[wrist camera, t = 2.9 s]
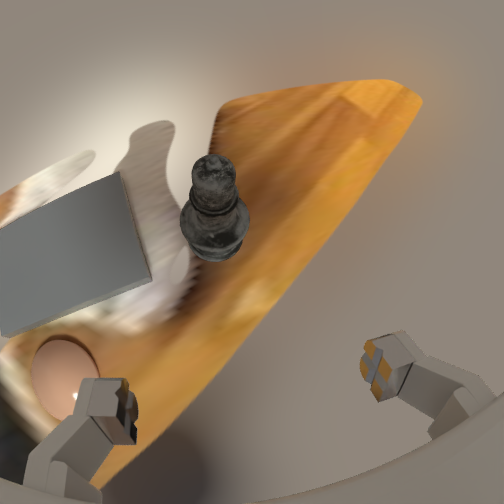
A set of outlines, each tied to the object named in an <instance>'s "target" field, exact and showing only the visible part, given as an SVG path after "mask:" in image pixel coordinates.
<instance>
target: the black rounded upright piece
mask: <svg viewBox="0 0 504 504" xmlns="http://www.w3.org/2000/svg"><path fill="white" fill-rule="evenodd" d="M235 178H236V173H235V168H234V166H233V164H232V162H231V161H230V160H229V159H227V158H226V157H224V156H221V155H217V154H210V155H206V156H204V157H202V158H200V159H199V160H197V161H196V163H195V164H194V166H193V169H192V183H193V186H192V187H191V189H190V193H189V200H188V201H187V202H186V204H185V206H184V207H183V209H182V212H181V215H180V227H181V230H182V233H183V235H184V236H185V238H186V239H187V241H188V243H189V246H190V248H191V249H192V251H193V252H194V253H195V254H196V255H197V256H198V257H199V258H202V259H204V260H206V261H211V262H219V261H224V260H227V259H229V258H230V257H232V256H233V255H235V253H236V252H237V251H238V250H239V248H240V246H241V244H242V240H243V238H244V237H245V235H246V233H247V231H248V228H249V222H250V218H249V212H248V209H247V207H246V205H245V204H244V202H243V201H242V200H241V199H240V198H239V192H238V189H237V187H236V185H235Z"/></svg>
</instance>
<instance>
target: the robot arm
mask: <svg viewBox="0 0 504 504" xmlns="http://www.w3.org/2000/svg"><path fill="white" fill-rule="evenodd" d="M364 350H365V351H366V352H365V353H364V355H363V356H362V357H361V360H360V372H361V374H362V377H363V378H364V380H365V381H366V382H368V383H370V384H371V389H370V390H371V392H372V393H373V395H374V397H375V398H376V400H377V402H378V403H379V402H381V401H384V400H387V399H390V398H393V397H396V396H398V398H400V399H402V400H403V401H405V402H406V403H408V404H410V405H411V406H413V407H415V408H416V409H418V410H419V411H421V412H423V413H425V414H426V415H428V416H429V417H431V418H433V419H434V421H433V423H432V424H431V425H430V427H429V428H428V431H427V432H428V433H429V435H430V437H431V438H432V441H430V442H428V443H427V444H424V445H423V446H421V447H419V448H417V449H415V450H413V451H411V452H409V453H407V454H405V455H403V456H401V457H399V458H397V459H394V460H392V461H390V462H388V463H385V464H383V465H381V466H379V467H376V468H374V469H371V470H369V471H366V472H364V473H361V474H358V475H356V476H353V477H350V478H348V479H344V480H342V481H339V482H336V483H332V484H329V485H326V486H323V487H320V488H316V489H312V490H309V491H305V492H301V493H297V494H293V495H289V496H284V497H279V498H274V499H269V500H264V501H258V502H253V503H245V504H504V392H503V393H502V394H500V395H499V396H498V397H496V396H495V394H493V392H492V391H491V389H490V388H489V387H488V386H487V385H486V384H485V382H484V381H483V380H482V379H481V378H480V377H479V375H476V374H474V373H471V372H468V371H466V370H464V369H461V368H459V367H456V366H454V365H451V364H449V363H446V362H444V361H441V360H439V359H436V358H434V357H432V356H428V357H427V356H426V355H425V354H424V353H423V351H422V350H421V349H420V348H419V347H418V346H417V345H416V343H415V342H414V341H413V340H412V339H411V338H410V336H409V335H408V334H407V333H406V332H405V331H403V330H400V331H397V332H394V333H391V334H387V335H383V336H380V337H377V338H374V339H370V340H367V341H366V343H365V345H364ZM138 412H139V411H138V403H137V400H136V397H135V395H134V393H133V392H131V391H130V390H129V383H128V381H127V379H126V378H84V379H83V380H82V381H81V384H80V388H79V391H78V395H77V399H76V403H75V407H74V411H73V415H68V416H67V417H66V418H65V419H64V420H63V421H62V422H61V423H60V424H59V425H58V426H57V427H56V428H55V429H54V430H53V431H52V432H51V433H50V434H49V435H48V436H47V437H46V438H45V439H44V440H43V441H42V442H41V443H40V444H39V445H38V446H37V447H36V448H35V449H34V450H33V451H32V452H31V453H30V454H29V457H28V462H27V466H26V471H25V476H24V481H23V486H22V485H19V484H16V483H13V482H10V481H8V480H5V479H2V478H0V504H102V493H101V492H100V490H99V489H97V488H96V487H94V486H93V485H92V484H90V483H89V482H90V480H91V479H92V477H93V476H94V474H95V473H96V471H97V470H98V469H99V467H100V466H101V464H102V463H103V461H104V460H105V458H106V457H107V456H108V454H109V453H110V451H111V450H112V448H113V447H114V446H113V445H136V444H137V428H136V426H135V424H134V423H135V421H136V420H137V419H138Z"/></svg>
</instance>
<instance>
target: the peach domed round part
mask: <svg viewBox="0 0 504 504" xmlns="http://www.w3.org/2000/svg"><path fill="white" fill-rule="evenodd" d="M31 377H32V384H33V388H34V391H35V394H36V396H37V398H38V400H39V401H40V403H41V405H42V406H43V407H44V408H45V409H46V410H47V411H48V412H49V413H50V414H51V415H52V416H54V417H55V418H57V419H59V420H62V421H63V420H64V419H65V418H66V417H67V416H68V415H73V411H74V407H75V403H76V399H77V395H78V391H79V388H80V384H81V381H82V380H83V379H84V378H100V375H99V371H98V369H97V367H96V365H95V363H94V361H93V359H92V358H91V357H90V355H89V354H88V353H87V352H86V351H85V350H84V349H83V348H81V347H80V346H79V345H77V344H75V343H73V342H70V341H65V340H53V341H50V342H48V343H46V344H44V345H43V346H42V347H41V348H40V349H39V350H38V352H37V353H36V355H35V357H34V360H33V363H32V370H31Z"/></svg>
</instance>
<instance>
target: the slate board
mask: <svg viewBox="0 0 504 504" xmlns="http://www.w3.org/2000/svg"><path fill="white" fill-rule="evenodd" d="M151 281H152V278H151V275H150V272H149V269H148V266H147V263H146V260H145V257H144V254H143V250H142V247H141V244H140V241H139V237H138V234H137V231H136V227H135V224H134V220H133V216H132V213H131V209H130V205H129V202H128V198H127V194H126V190H125V186H124V182H123V178H122V176H121V174H120V172H116V173H114V174H112V175H109V176H107V177H104V178H102V179H100V180H97V181H95V182H93V183H91V184H88V185H86V186H84V187H81V188H79V189H77V190H75V191H73V192H71V193H68V194H66V195H64V196H62V197H60V198H58V199H56V200H54V201H52V202H50V203H48V204H46V205H44V206H42V207H40V208H38V209H36V210H34V211H32V212H30V213H29V214H27V215H25V216H23V217H21V218H19V219H18V220H16V221H14V222H12V223H11V224H9V225H7V226H5V227H4V228H2V229H0V331H1V336H2V337H7V338H11V337H14V336H16V335H18V334H21V333H23V332H26V331H28V330H31V329H33V328H36V327H38V326H41V325H43V324H46V323H48V322H51V321H53V320H56V319H58V318H61V317H63V316H66V315H68V314H71V313H73V312H76V311H78V310H81V309H83V308H86V307H88V306H91V305H93V304H96V303H98V302H101V301H103V300H106V299H108V298H111V297H113V296H116V295H118V294H121V293H123V292H126V291H128V290H131V289H134V288H136V287H139V286H141V285H144V284H146V283H149V282H151Z"/></svg>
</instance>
